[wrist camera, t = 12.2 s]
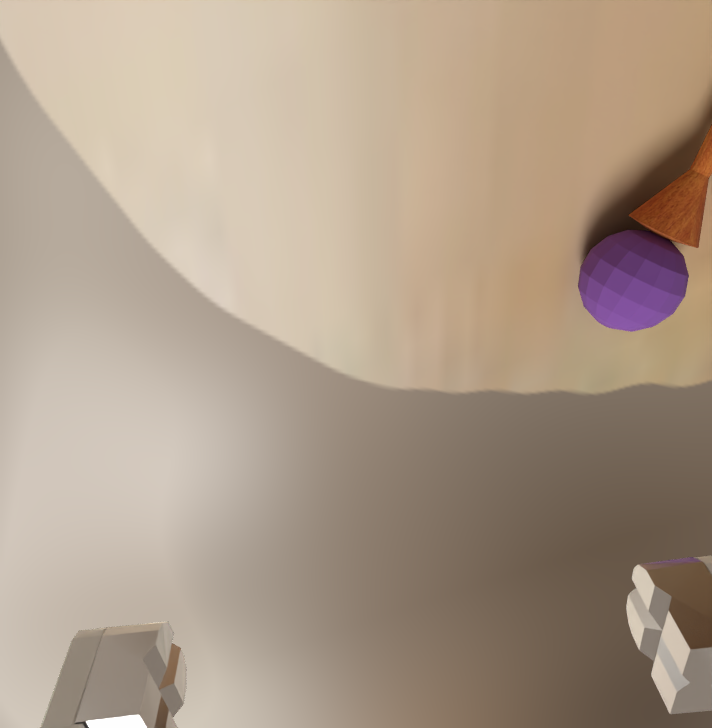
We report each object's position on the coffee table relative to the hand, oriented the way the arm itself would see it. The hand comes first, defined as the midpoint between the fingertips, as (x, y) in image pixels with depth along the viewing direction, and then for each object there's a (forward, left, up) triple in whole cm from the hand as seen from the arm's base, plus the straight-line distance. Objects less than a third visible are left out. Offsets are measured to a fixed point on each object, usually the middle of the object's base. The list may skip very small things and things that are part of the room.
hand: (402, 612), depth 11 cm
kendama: (-20, +2, -30) cm, 36 cm away
